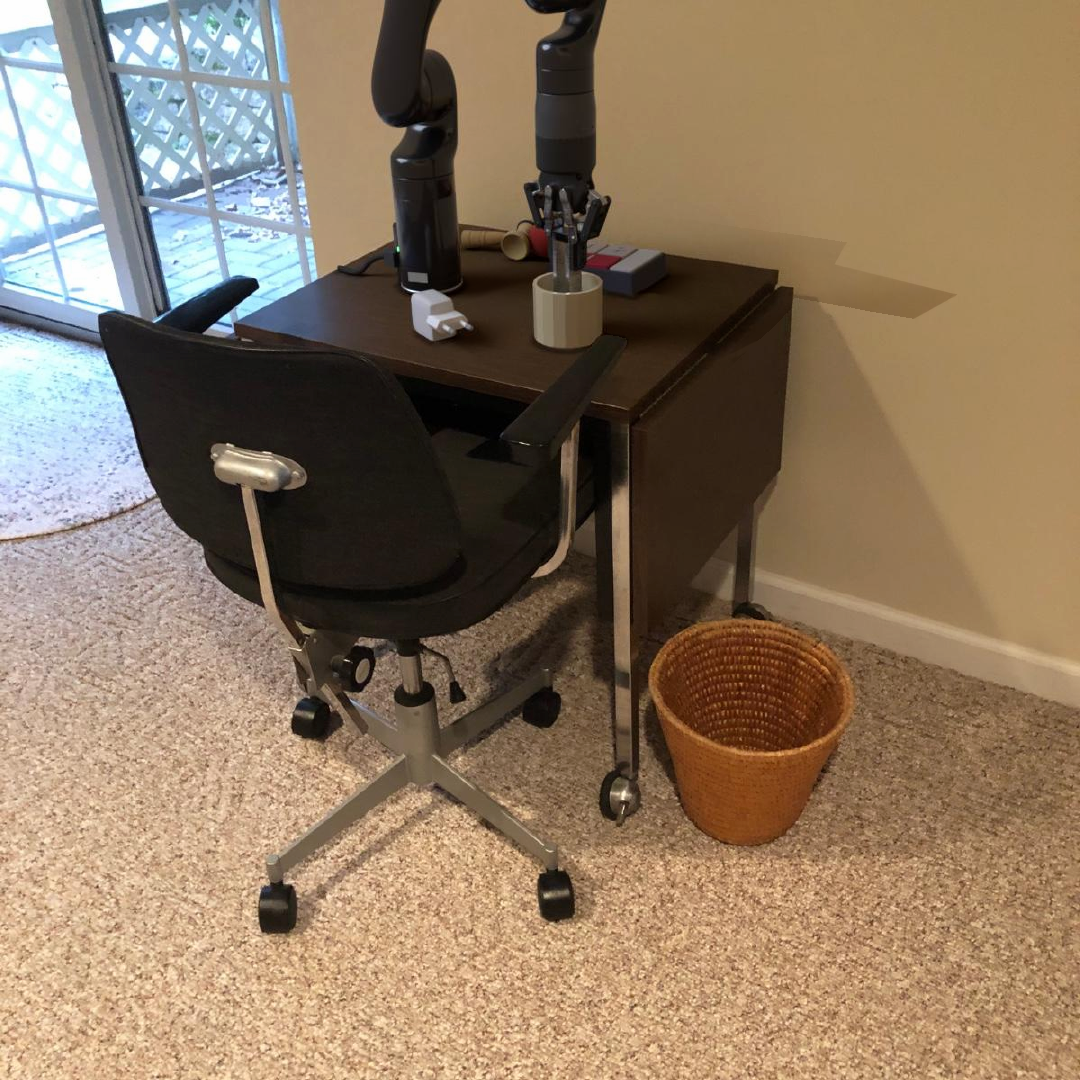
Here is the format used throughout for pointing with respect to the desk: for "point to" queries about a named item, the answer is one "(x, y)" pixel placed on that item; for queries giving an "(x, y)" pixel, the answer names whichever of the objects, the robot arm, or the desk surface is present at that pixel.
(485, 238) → the kendama
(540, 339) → the crock
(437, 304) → the power adapter
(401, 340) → the desk surface
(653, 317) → the desk surface
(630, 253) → the calculator
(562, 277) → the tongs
